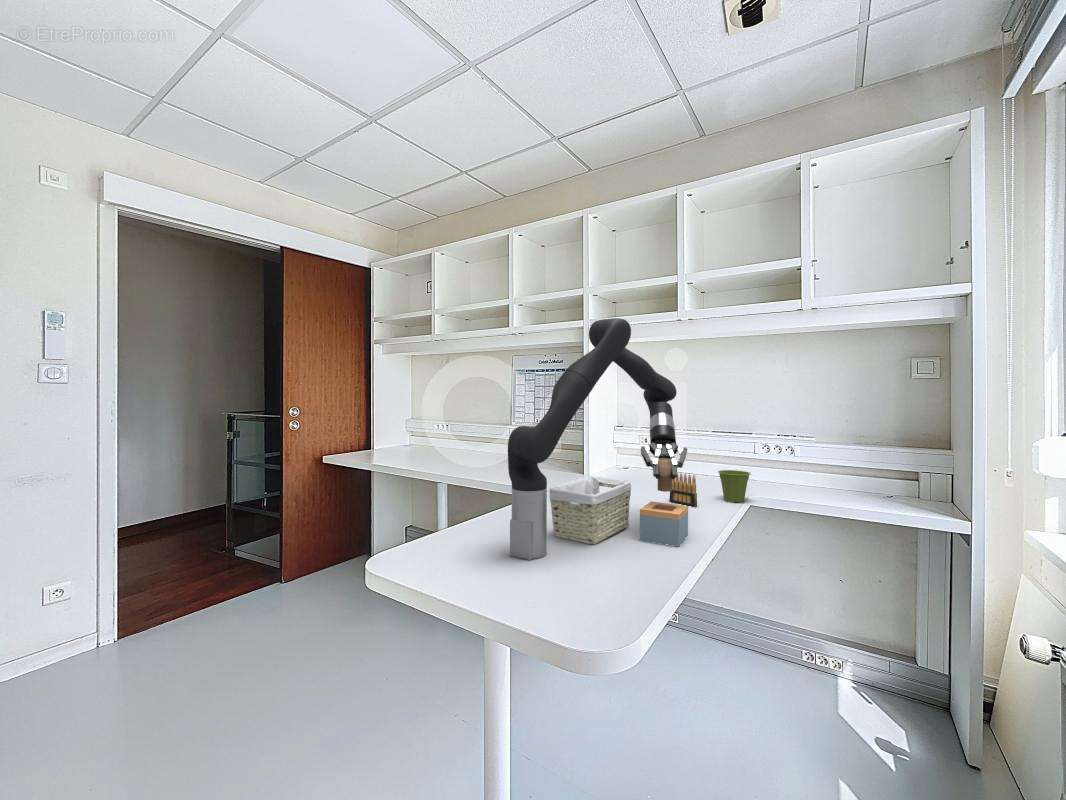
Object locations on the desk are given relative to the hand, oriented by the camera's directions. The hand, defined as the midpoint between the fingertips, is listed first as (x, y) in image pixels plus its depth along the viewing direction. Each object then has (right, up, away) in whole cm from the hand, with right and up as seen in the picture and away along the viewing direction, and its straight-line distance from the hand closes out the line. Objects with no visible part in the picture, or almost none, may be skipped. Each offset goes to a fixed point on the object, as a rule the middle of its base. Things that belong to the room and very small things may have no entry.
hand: (665, 477), depth 134 cm
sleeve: (0, -18, +2) cm, 18 cm away
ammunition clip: (+19, -18, +44) cm, 51 cm away
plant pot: (+41, -18, +50) cm, 67 cm away
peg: (0, -4, +2) cm, 5 cm away
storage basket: (-20, -18, +8) cm, 29 cm away
